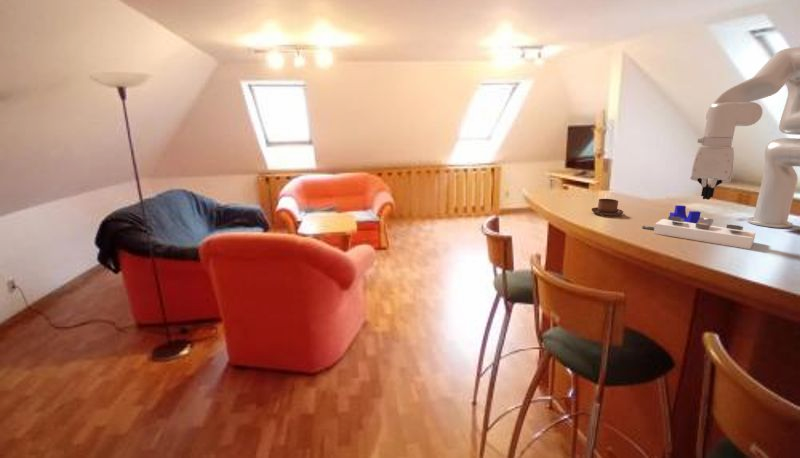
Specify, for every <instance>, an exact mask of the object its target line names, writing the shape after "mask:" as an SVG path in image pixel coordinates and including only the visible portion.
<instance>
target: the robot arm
mask: <svg viewBox="0 0 800 458" xmlns="http://www.w3.org/2000/svg"><path fill="white" fill-rule="evenodd" d="M784 86H786V87H787V96H786V100H785V101H786V102H785V104H784V107H783V110H782V113H781V117H780V120H779V125H778V130H779V132H781V133H782V134H786V135H795V136H796V135H797V136H800V46H795V47H789V48H784V49H781V50H779V51H777V52H776V53H775V54H774V55H773V56H772V57H771V58H770V59H769V60H767V62H766V63H765V64H764V65H763V66H762V67H761V68H760V69H759V70H758V71H757V72H756V73H755V75H754V76H753V77H751V78H749V79H746V80H744V81H742V82H740V83H737V84H736V85H733V87H730V88H729V89H727V90H725V91H724V92H722V93H721V94H720V95H719V96H718V97H717V98H716V99H715V100H714V101H713V102H712V103H711V105H710V106H709V107H708V109H707V111H706V115H705V119H706V122H705V128H704V134H703V136H702V138H698V139H697V144H701V146H699V147H698V148H697V150H696V154H695V156H694V157H695V158H694V161H693V164H692V167H691V168H692V170H691V176H690V180H692V181H694V182H697V183H699V184H700V185H701V187H702V189H701V195H700V196H701V197H702V200H710V199H711V198H713V197H714V195H715V188H716V187H717V186H719V185H720V184H729V183H731V182H732V177H731V176H732V173H733V167H734V159H735V158H734V157H735V156H734V155H735V150H734V149H735V148H734V147H732V144H733V140H734V139H733V138H734V135H735V130H736V127H749V126H752V125H754V124H757V123H758V122H759V120H761V118H762V115H763V108H762V106H761V105H760V104H759V103H758V102H755V101H758V100H762V99H765V98H767V97H771V96H773V95H775V94H777V93H778V92H779V91H780V90H781V89H782V88H783V87H784ZM794 167H800V138H797V137H796V138H795V137H794V138H790V137H786V138H785V137H784V138H777V139H774V140H772V141H770V142H768V143H767V145H766V146H765V149H764V167H763V175H762V178H761V183H760V188H759V192H758V196H757V200H756V206H755V210H754V214H753V217H748V218H747V222H748V223H749V224H751V225H755V226H756V225H757V226H760V227H767V228H777V229H779V228H780V229H788V228H792V227H793V223H792V222H791V221H789V220H788V219H789V216H790V212H791V207H792V204H793V200H794V196H795V193H796V188H797V183H798V174H797V172H796V170H795V169H794ZM709 179H712V180H711V184H710V185H709Z"/></svg>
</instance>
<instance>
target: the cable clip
mask: <svg viewBox="0 0 800 458" xmlns="http://www.w3.org/2000/svg"><path fill="white" fill-rule="evenodd" d="M686 207H687V206H686V205H684V204H683V205H681V204H679V205H677V204H676V205H674V212H669V216H673V217H680V218H683V219H684V222H689V223H697V222H698V220H699V219H700V218H701V211H699V210H698V211H697V210H693V211H692V210H690V211H689V212H688V215H687V212H686Z"/></svg>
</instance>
